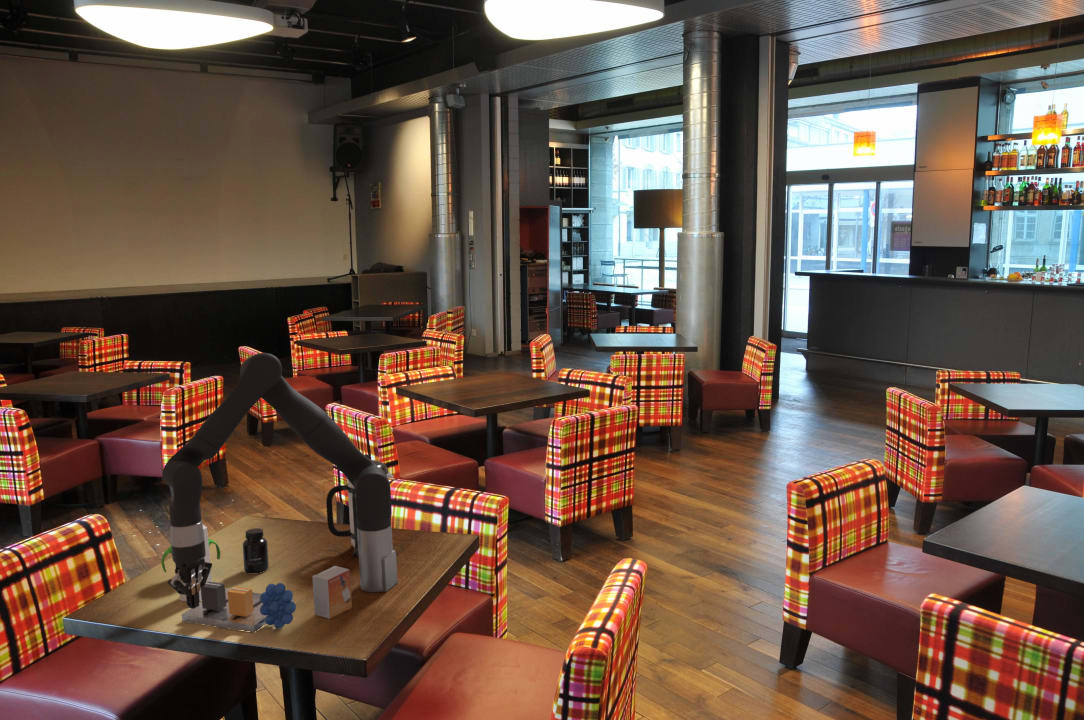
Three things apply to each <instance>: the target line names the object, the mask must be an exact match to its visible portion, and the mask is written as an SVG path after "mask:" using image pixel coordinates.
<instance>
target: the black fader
mask: <svg viewBox="0 0 1084 720" xmlns="http://www.w3.org/2000/svg"><path fill="white" fill-rule="evenodd" d="M225 585H226V584H225V583H223V582H215V581H212V582H207V583H206V584H205V586H204V587H201V598H202V601H201V602H202V608H203V609H209V610H216V611H219V610H221V609H222V608H224V607H226V606H227V605H226V594H225V589H226V586H225Z"/></svg>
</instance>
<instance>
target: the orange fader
mask: <svg viewBox="0 0 1084 720" xmlns="http://www.w3.org/2000/svg"><path fill="white" fill-rule="evenodd" d="M252 592H253V589H252V588H249V587H248V588H247V587H239V586H234V587H232V588H231V590H229V591H228V603H229V614H232V615H238V616H245V617H246V616H248V615H249V614H251V613H252V612H254V608H253V595H252Z"/></svg>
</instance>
